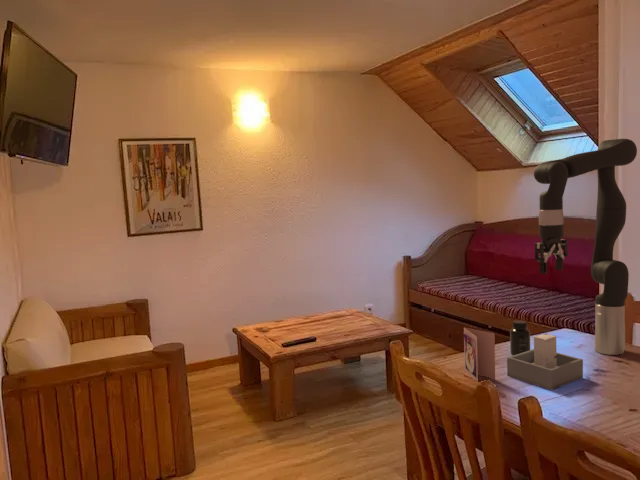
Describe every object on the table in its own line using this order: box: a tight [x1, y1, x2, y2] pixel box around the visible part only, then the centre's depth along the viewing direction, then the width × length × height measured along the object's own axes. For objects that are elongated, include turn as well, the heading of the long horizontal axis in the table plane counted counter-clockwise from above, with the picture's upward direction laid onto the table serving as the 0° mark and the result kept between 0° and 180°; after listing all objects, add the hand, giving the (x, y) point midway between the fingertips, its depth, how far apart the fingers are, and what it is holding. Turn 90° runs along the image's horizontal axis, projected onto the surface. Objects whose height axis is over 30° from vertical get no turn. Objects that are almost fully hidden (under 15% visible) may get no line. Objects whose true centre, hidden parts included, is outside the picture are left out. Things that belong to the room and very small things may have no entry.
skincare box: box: [533, 333, 557, 369], centre depth 172 cm, size 6×4×12 cm
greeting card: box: [462, 327, 496, 382], centre depth 174 cm, size 11×7×15 cm, turn 5°
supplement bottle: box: [509, 319, 531, 356], centre depth 194 cm, size 7×7×12 cm
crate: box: [506, 348, 584, 391], centre depth 172 cm, size 16×16×6 cm
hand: (551, 271), depth 179 cm, fingers open, 8 cm apart
